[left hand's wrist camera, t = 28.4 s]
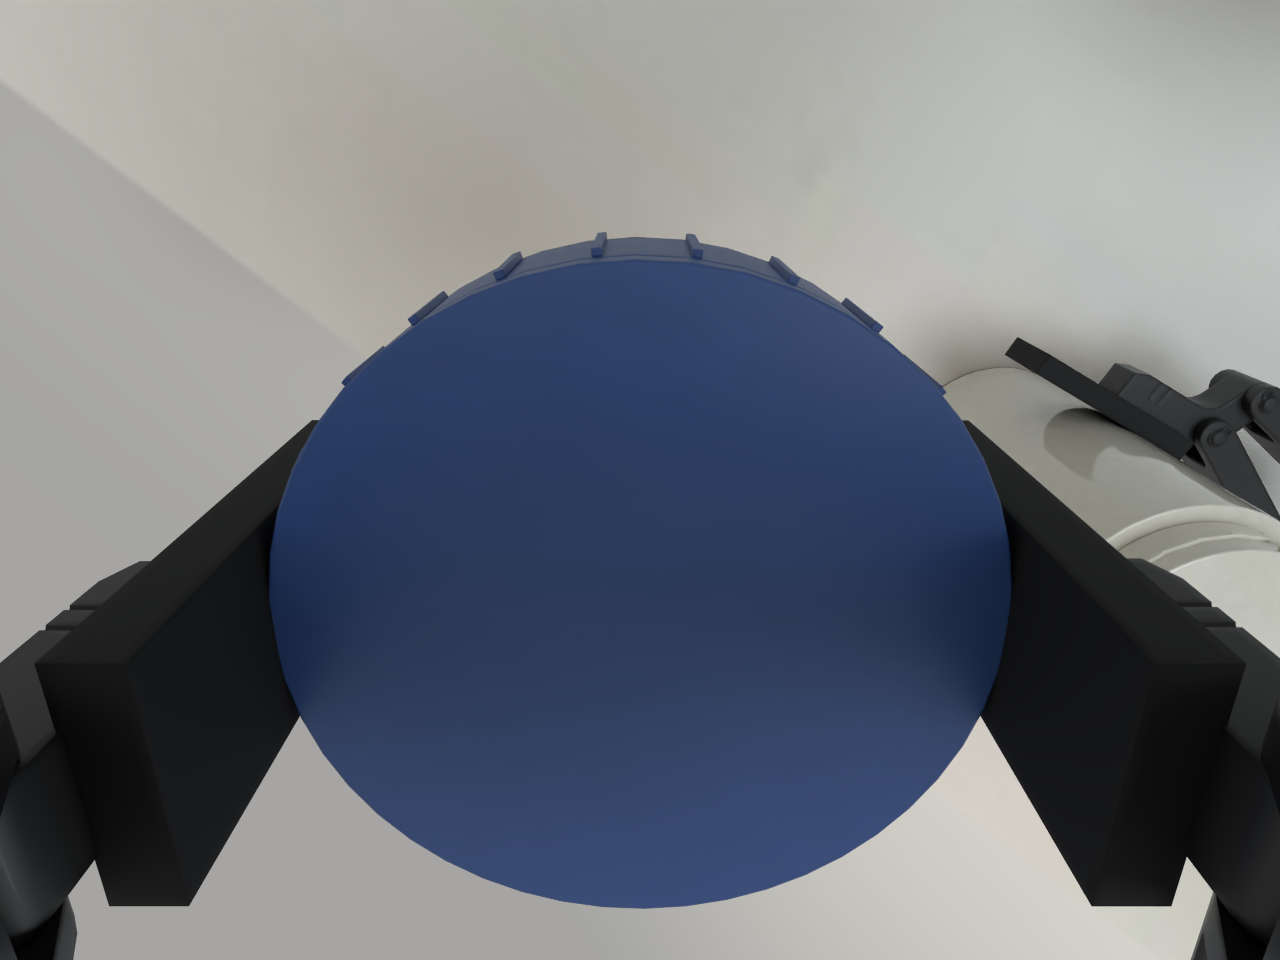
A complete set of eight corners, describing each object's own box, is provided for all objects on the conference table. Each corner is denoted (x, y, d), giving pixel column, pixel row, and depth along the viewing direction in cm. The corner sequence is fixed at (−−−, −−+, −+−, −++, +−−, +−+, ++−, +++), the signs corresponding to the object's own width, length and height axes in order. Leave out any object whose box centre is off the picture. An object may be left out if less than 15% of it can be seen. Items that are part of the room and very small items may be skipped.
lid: (1082, 384, 11) (1175, 437, 9) (788, 867, 14) (811, 982, 12) (428, 111, 10) (377, 106, 8) (261, 703, 13) (195, 803, 11)
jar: (1020, 557, 41) (1251, 816, 25) (868, 500, 40) (1013, 735, 24) (1114, 405, 38) (1439, 593, 23) (953, 340, 37) (1179, 490, 21)
